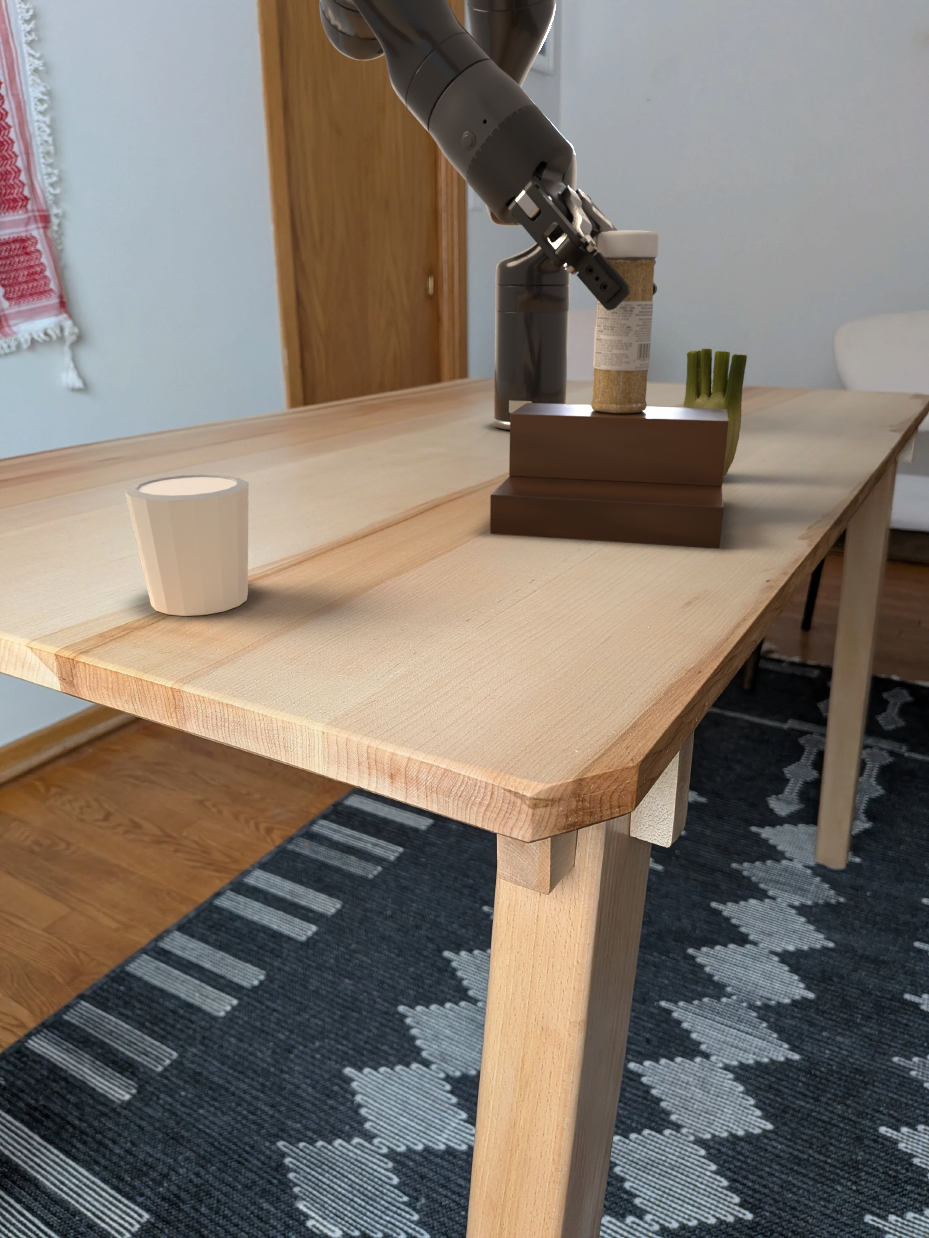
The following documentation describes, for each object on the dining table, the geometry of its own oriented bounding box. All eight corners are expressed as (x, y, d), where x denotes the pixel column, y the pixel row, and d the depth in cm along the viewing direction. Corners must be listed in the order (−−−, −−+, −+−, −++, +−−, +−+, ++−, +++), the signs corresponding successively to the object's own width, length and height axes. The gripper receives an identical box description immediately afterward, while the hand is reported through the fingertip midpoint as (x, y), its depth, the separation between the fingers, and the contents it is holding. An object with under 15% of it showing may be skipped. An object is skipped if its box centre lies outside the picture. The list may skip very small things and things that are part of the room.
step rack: (524, 494, 82) (526, 402, 79) (717, 504, 78) (726, 409, 75) (489, 533, 69) (490, 426, 66) (719, 548, 65) (730, 435, 62)
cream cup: (163, 581, 58) (149, 472, 56) (270, 582, 58) (261, 473, 55) (122, 619, 52) (104, 497, 49) (242, 620, 51) (230, 498, 49)
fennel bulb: (741, 481, 86) (755, 350, 82) (697, 485, 85) (709, 351, 81) (705, 470, 91) (717, 346, 87) (663, 473, 90) (673, 347, 86)
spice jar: (616, 405, 77) (625, 233, 72) (658, 411, 74) (671, 230, 69) (578, 410, 74) (585, 231, 69) (620, 416, 71) (631, 228, 66)
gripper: (497, 85, 63) (650, 262, 63) (562, 116, 75) (691, 264, 75) (429, 174, 67) (573, 341, 66) (501, 189, 79) (623, 330, 79)
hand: (635, 300), depth 71 cm, fingers open, 8 cm apart
